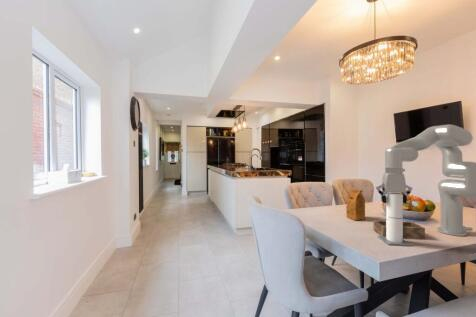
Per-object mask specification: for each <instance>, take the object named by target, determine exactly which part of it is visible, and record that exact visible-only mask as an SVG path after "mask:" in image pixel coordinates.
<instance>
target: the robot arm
mask: <svg viewBox="0 0 476 317" xmlns="http://www.w3.org/2000/svg"><path fill="white" fill-rule="evenodd" d="M473 138H474V136H473V135H472V132H470V131H469V130H468V129H464V128H463V127H460V126H458V125H455V124H441V125H433V126H430V127H427V128H426V129H425V130H423V131H422V132H420V133H419V134H417V135H416V136H415V137H411V138H408V139H406V140H403V141H400V142H398V143H397V144H394V145H392V146H391V147H389V148H386V149H385V152H384V164H385V165H384V166H385V168H384V169H385V170H384V173H383V175H382V179H381V184H380V185H378V186H376V187H375V189H376V190H377V193H378V194H379V195H380V197H381V198H380V199H381V202H382V203H383V204H386V194H387V193H388V192H392V193H401V194H403V205H404V204H405V205H406V204H407V202H408V197H409V195H410V194H411V193H412V190H413V187H411V186H410V185H407V183H406V177H405V174H404V173H403V172H406V169H405V168H403V163H404V162H407V163H408V162H409V163H410V162H415V161H416V160H418V158H419V152H420V151H423V150H427V149H428V148H430V147H431V146H433V145H435V146H436V147H437V148H438V149H439V150H440V152H441V156H442V160H441V169H442V170H441V171H442V175H444V176H445V177H446V179H443V180H440V181H439V182H438V184H437V188H438V193H439V199H440V205H439V206H440V227H437V228H436V230H437V231H438V232H440V233H442V234H445V235H449V236H456V237H464V236H465V237H466V236H467V235H468V233H467V231H469V232H470V231H471V232H472V231H473V227H472V226H471V227H470V226H468V227H467V226H466V225H464V204H463V201H462V199H461V198H466V199H467V198H468V199H476V162H474V161H463V151H462V150H461V149H460V148H459V147H462V146H463V147H464V146H468V145H470V144H471V143H472V141H473ZM447 177H449V178H457V179H447ZM462 179H464V180H462Z"/></svg>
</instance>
